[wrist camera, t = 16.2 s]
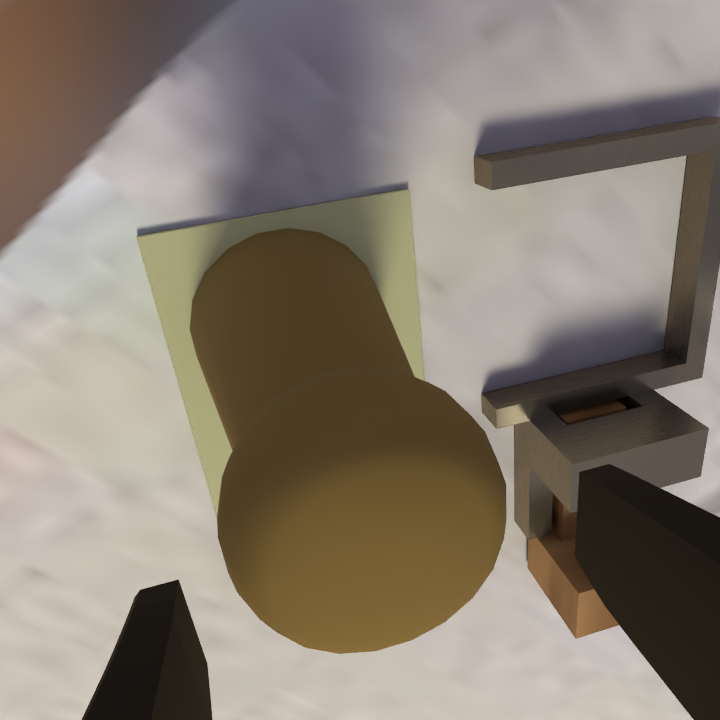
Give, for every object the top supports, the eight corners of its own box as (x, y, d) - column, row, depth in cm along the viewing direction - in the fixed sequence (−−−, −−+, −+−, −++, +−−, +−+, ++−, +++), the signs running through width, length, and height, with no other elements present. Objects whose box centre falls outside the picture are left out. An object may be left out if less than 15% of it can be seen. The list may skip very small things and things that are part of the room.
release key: (622, 385, 24) (694, 438, 21) (608, 542, 28) (667, 609, 24) (527, 408, 23) (586, 467, 20) (526, 566, 27) (575, 638, 24)
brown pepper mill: (271, 440, 21) (343, 756, 11) (145, 310, 18) (99, 587, 8) (414, 335, 21) (614, 569, 11) (310, 185, 18) (457, 326, 8)
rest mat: (407, 188, 19) (409, 189, 19) (435, 537, 25) (437, 540, 25) (137, 235, 17) (136, 237, 17) (238, 591, 24) (239, 596, 24)
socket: (713, 116, 20) (823, 126, 17) (664, 479, 27) (736, 540, 24) (474, 156, 19) (540, 177, 15) (486, 529, 26) (533, 602, 22)
